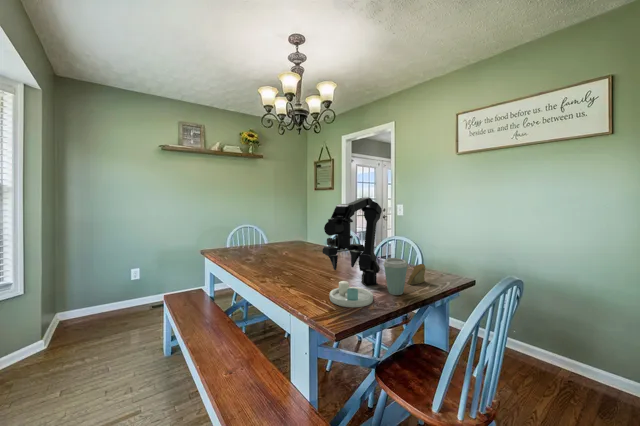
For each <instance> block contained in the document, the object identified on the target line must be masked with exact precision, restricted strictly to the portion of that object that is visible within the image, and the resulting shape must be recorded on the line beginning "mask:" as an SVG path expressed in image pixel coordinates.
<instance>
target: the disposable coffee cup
mask: <svg viewBox="0 0 640 426" xmlns="http://www.w3.org/2000/svg"><path fill="white" fill-rule="evenodd" d="M382 265H383V267H384V273H385V280H386V286H387V291H388V293H389V294H390V295H393V296H399V295H403V294H404V291H405V284H406V276H407V271H408V270H407V269H408V263H407V261H406V260H404V259H403V258H398V257H389V258H386V259H384V261H383V264H382Z"/></svg>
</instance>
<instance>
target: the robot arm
mask: <svg viewBox="0 0 640 426" xmlns="http://www.w3.org/2000/svg"><path fill="white" fill-rule="evenodd" d="M359 210H361V211H362V212H363V216H364V217H363V218H364V219H365V222H366V223H365V224H366V225H365V236H364V245H363V244H361V243H351V239H353V235H351V228H352V227H351V225H352V224H351V223H353V222H354V221H353V219H351V218H352V217H353V216H354V215H355V214H356V213H355V212H357V211H359ZM382 211H383V210H382V207H381V206H380V204H379V203H378V202H376V201H374V200H373V198H371V197H368V196H367V197H366V196H365V197H360V198H359V199H356V200H354V201H352V202H349V203H339V204H337V205H336V206H335V208H334V210H333V213H332V214H331V217H330V218H327V222H326V223H325V224H324V227H323V228H324V229H323V230H324V232H325V234H326V235H327V236H329V237H328V238H326V245H327V246H324V247H323V248H322V254H324V255H325V256H326V257H328V258H329V259H330V262H331V265H332V269H333V270H334V271H337V268H338V259H339V256H338V253H340V252H341V253H342V252H349V254H350V266H351V268H355V264H356V263H357V261H358V267H359V271H360V272H362V274H361V281H360V282H361V283H362V284H363V285H364V286H367V287H368V286H376V285H379V283H378V282H377V281H378V280H377V278H378V277H377V276H378V275H377V274H378V273H379V272H380V270H381V267H380V265H379V263H378V262H377V255H376V253H375V243H376V231H377V223H378V222H379V220H380V219H381V215H382ZM331 236H334V237H335V238H333V237H331Z"/></svg>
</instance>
